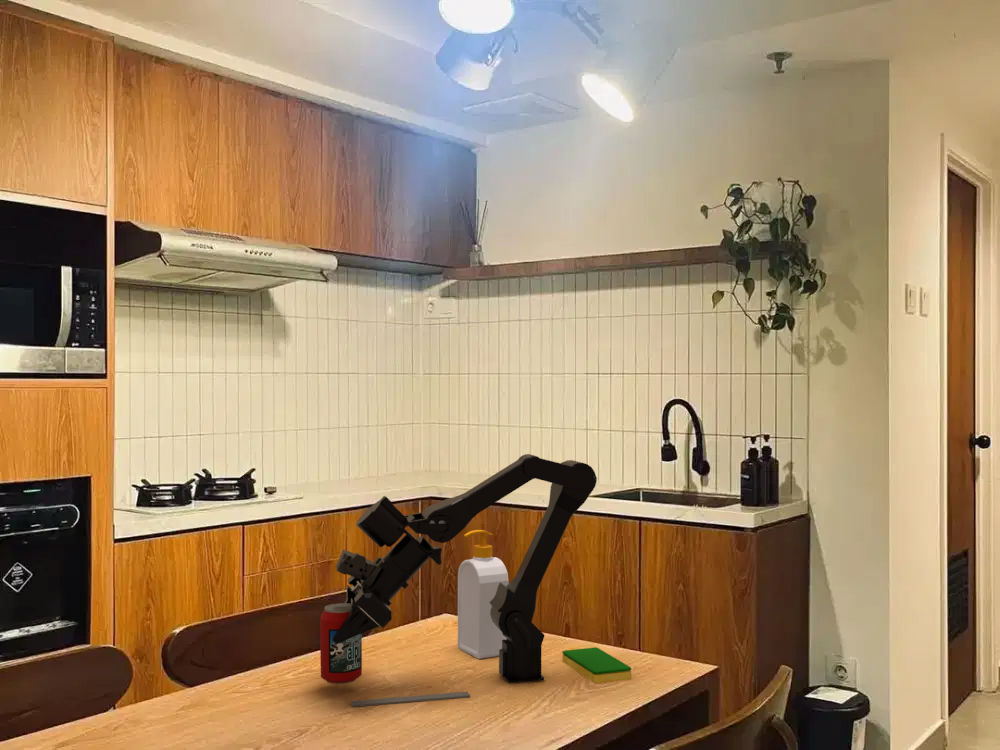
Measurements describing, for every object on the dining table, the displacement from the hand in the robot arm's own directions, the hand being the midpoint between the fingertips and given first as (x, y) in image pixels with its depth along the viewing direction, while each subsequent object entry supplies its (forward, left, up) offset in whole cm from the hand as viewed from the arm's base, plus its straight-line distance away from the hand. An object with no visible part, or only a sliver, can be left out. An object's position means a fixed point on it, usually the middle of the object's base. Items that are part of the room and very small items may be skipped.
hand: (332, 636), depth 159 cm
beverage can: (-1, 0, -7) cm, 8 cm away
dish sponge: (-46, 0, -10) cm, 47 cm away
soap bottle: (-29, -16, -9) cm, 34 cm away
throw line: (-12, +8, -9) cm, 17 cm away
